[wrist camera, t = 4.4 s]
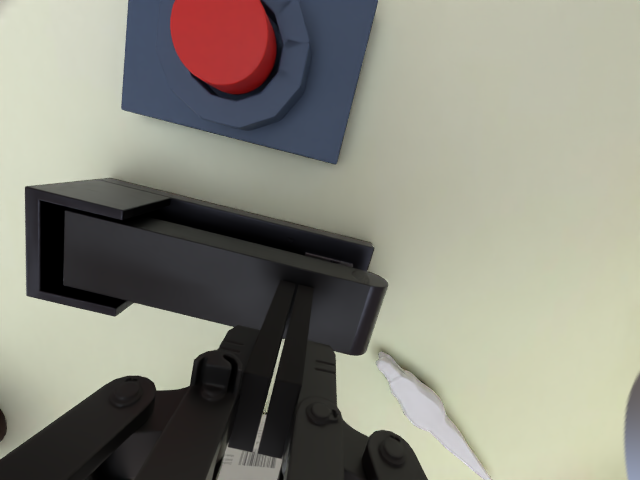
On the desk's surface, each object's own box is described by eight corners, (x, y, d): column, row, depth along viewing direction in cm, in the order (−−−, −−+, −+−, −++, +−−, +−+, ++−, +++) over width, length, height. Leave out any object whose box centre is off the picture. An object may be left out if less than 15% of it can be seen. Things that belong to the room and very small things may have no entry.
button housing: (373, 14, 16) (385, -22, 13) (336, 163, 19) (337, 165, 15) (152, -47, 16) (105, -100, 13) (139, 113, 18) (95, 103, 15)
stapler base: (372, 242, 20) (387, 275, 14) (349, 318, 21) (355, 373, 16) (109, 177, 19) (24, 186, 14) (104, 259, 21) (25, 296, 15)
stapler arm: (381, 267, 18) (391, 290, 15) (362, 326, 19) (368, 359, 16) (111, 200, 18) (64, 209, 14) (107, 264, 19) (62, 285, 16)
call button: (285, 10, 14) (277, -14, 12) (267, 104, 15) (258, 96, 13) (197, -13, 14) (175, -42, 12) (186, 82, 15) (164, 71, 13)
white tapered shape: (360, 357, 22) (363, 375, 20) (390, 337, 22) (396, 354, 20) (475, 483, 25) (487, 509, 23) (504, 467, 24) (518, 492, 23)
